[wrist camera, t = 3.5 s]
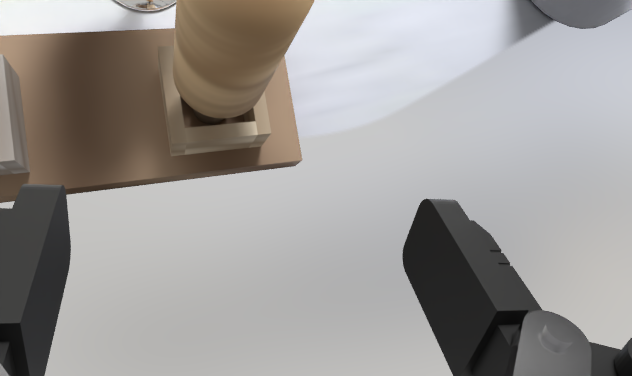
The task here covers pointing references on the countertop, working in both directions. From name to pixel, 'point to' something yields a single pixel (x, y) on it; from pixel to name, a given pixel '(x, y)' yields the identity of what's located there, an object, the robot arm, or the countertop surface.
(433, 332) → the robot arm
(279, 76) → the plank
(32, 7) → the countertop surface
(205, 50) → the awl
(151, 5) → the wineglass
